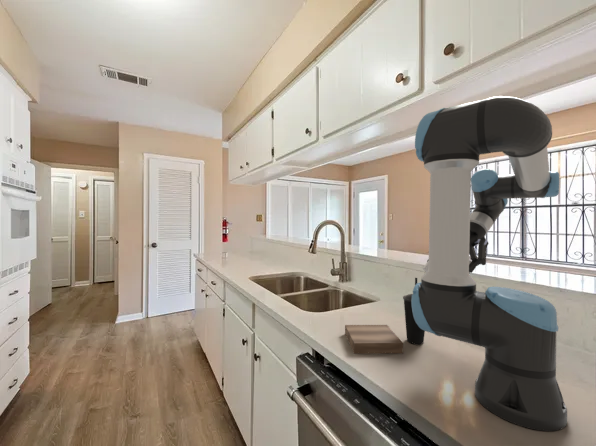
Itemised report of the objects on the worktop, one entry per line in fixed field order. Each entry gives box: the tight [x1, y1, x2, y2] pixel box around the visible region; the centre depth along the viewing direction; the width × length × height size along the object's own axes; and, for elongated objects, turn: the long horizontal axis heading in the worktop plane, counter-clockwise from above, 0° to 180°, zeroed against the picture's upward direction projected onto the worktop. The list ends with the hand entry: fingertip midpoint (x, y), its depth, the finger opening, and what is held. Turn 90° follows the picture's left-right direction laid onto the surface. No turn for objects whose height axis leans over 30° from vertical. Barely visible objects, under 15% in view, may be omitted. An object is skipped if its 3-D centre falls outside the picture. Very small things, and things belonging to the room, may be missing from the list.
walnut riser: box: [344, 324, 404, 355], centre depth 90 cm, size 14×14×3 cm
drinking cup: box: [402, 277, 426, 346], centre depth 91 cm, size 8×8×20 cm
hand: (441, 274), depth 95 cm, fingers open, 13 cm apart
